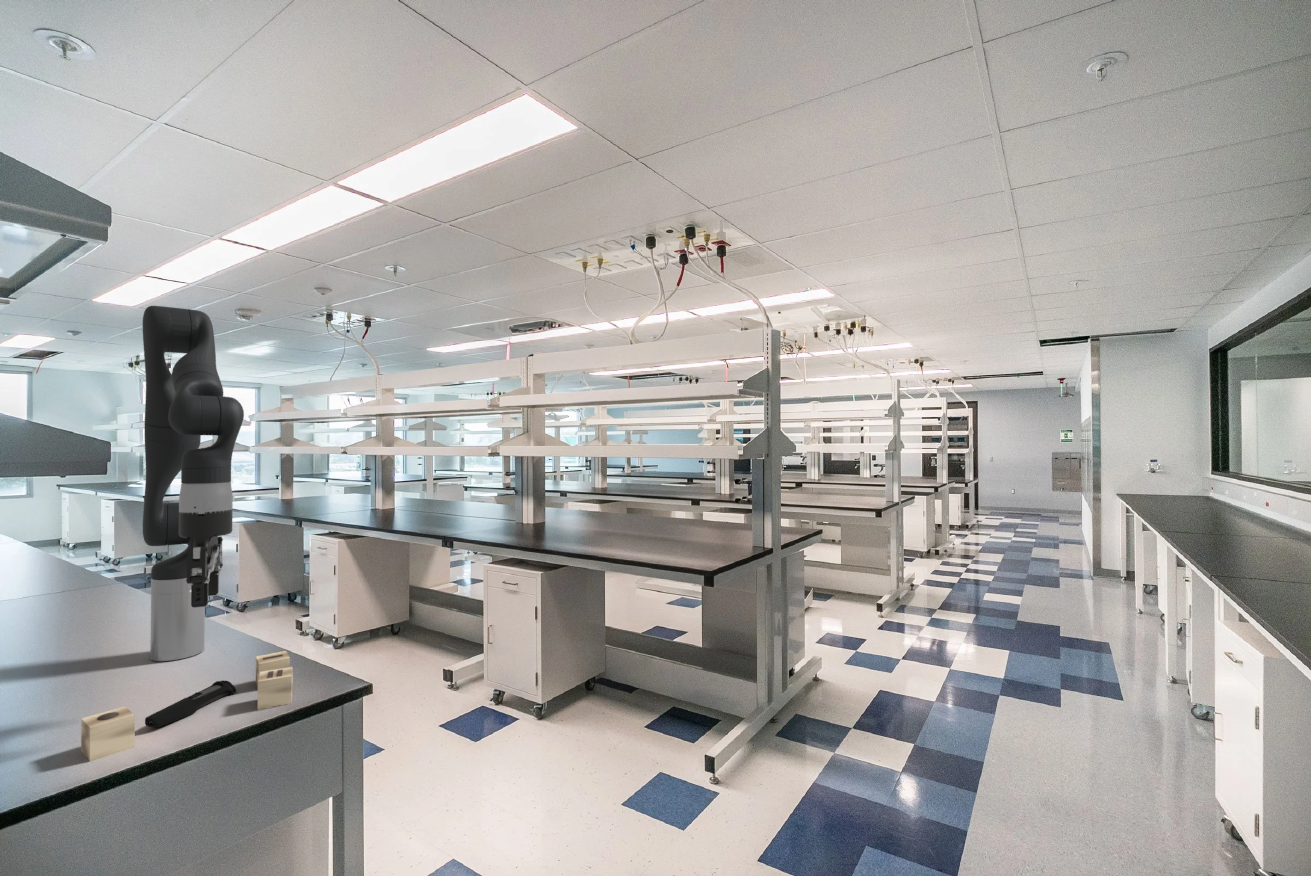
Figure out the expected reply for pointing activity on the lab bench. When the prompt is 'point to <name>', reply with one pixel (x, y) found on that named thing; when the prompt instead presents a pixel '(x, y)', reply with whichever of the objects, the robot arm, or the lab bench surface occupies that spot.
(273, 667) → the maple block
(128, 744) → the maple block
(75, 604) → the lab bench surface
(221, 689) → the electric trimmer
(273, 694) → the maple block
